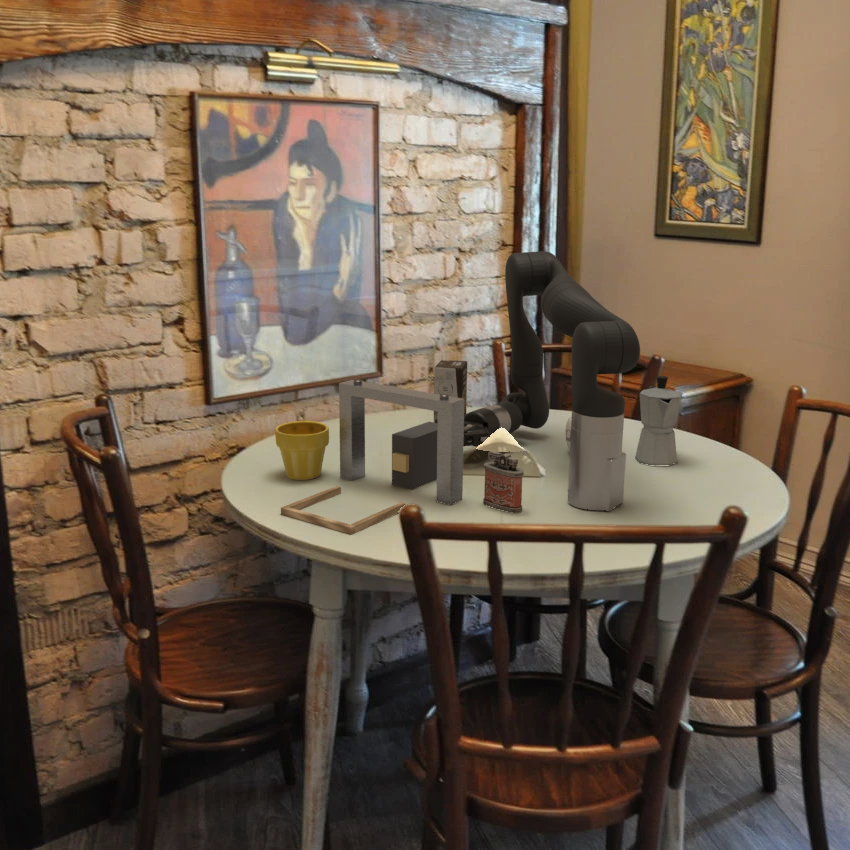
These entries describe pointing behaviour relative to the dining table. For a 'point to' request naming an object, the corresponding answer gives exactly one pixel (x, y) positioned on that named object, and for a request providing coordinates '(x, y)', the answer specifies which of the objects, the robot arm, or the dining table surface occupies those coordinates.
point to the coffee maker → (658, 424)
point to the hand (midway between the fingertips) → (439, 442)
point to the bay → (295, 512)
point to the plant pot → (302, 448)
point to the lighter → (503, 483)
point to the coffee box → (451, 381)
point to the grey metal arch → (446, 406)
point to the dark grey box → (415, 456)
